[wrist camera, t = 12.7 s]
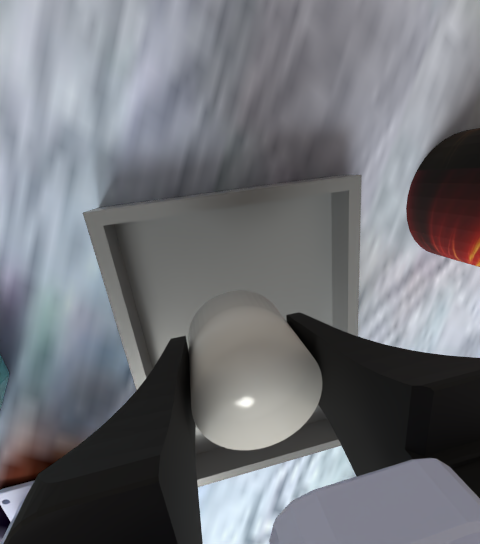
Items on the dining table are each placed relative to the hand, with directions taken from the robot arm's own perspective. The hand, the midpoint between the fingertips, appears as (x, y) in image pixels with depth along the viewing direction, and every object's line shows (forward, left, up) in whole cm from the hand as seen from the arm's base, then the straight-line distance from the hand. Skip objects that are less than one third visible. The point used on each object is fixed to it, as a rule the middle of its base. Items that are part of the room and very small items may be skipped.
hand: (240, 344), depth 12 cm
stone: (0, 0, -1) cm, 1 cm away
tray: (-5, -2, -9) cm, 10 cm away
